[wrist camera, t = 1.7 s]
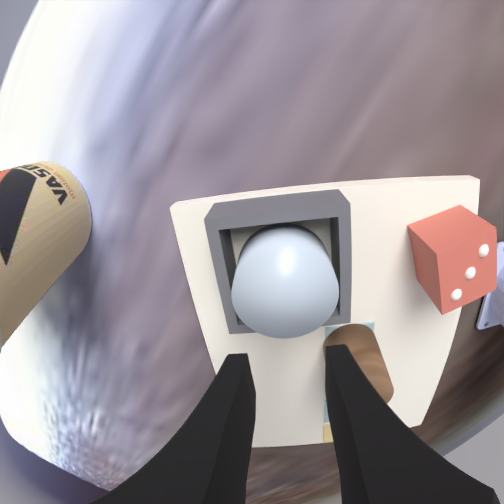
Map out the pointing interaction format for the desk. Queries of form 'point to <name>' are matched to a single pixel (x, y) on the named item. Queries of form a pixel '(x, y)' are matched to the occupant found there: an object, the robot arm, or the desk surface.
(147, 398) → the desk surface
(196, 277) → the board
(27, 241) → the coffee cup
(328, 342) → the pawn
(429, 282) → the die
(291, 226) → the dome
